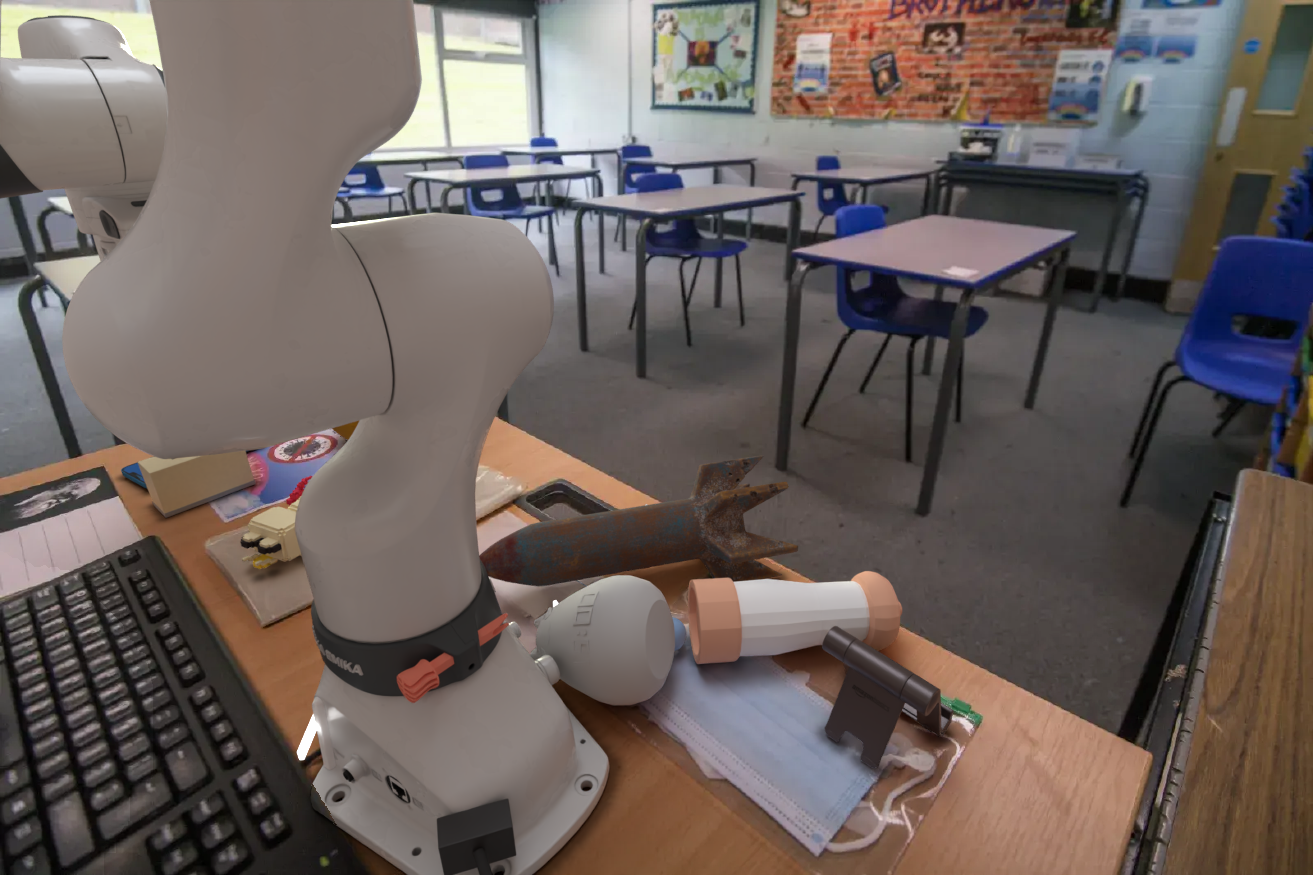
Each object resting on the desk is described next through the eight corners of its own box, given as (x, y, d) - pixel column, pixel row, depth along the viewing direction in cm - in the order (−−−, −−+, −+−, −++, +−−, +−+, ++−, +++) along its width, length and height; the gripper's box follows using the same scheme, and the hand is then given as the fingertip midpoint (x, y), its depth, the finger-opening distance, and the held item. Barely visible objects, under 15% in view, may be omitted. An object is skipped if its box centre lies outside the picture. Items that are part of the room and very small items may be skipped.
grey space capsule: (628, 700, 50) (488, 695, 54) (680, 712, 58) (557, 707, 63) (638, 558, 54) (508, 565, 58) (686, 589, 63) (569, 592, 67)
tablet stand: (951, 730, 56) (975, 653, 52) (901, 790, 51) (923, 710, 47) (856, 668, 62) (871, 595, 58) (802, 718, 57) (815, 641, 53)
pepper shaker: (702, 624, 57) (927, 610, 59) (689, 562, 63) (893, 551, 65) (697, 681, 61) (907, 667, 63) (685, 618, 67) (877, 606, 69)
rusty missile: (489, 635, 70) (767, 581, 77) (482, 624, 58) (809, 563, 65) (475, 516, 73) (741, 475, 80) (465, 485, 62) (776, 440, 69)
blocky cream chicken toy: (388, 467, 94) (217, 558, 73) (381, 406, 91) (199, 484, 69) (448, 483, 91) (287, 584, 69) (444, 420, 87) (272, 507, 66)
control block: (256, 483, 88) (243, 441, 85) (165, 518, 81) (149, 473, 78) (242, 473, 90) (229, 431, 87) (153, 505, 83) (136, 461, 80)
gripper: (60, 202, 73) (108, 330, 79) (124, 225, 61) (174, 373, 67) (131, 196, 77) (170, 317, 83) (203, 216, 65) (243, 356, 71)
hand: (172, 343), depth 75 cm, fingers open, 8 cm apart
